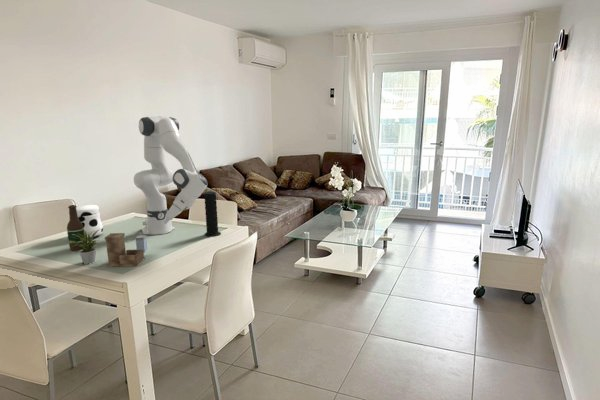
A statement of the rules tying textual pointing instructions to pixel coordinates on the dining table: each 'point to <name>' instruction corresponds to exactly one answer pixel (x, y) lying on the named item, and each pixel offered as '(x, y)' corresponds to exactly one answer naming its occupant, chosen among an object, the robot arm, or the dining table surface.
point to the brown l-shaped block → (121, 251)
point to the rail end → (141, 243)
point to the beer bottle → (74, 228)
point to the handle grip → (211, 214)
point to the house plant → (86, 247)
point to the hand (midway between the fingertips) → (167, 221)
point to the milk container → (90, 219)
